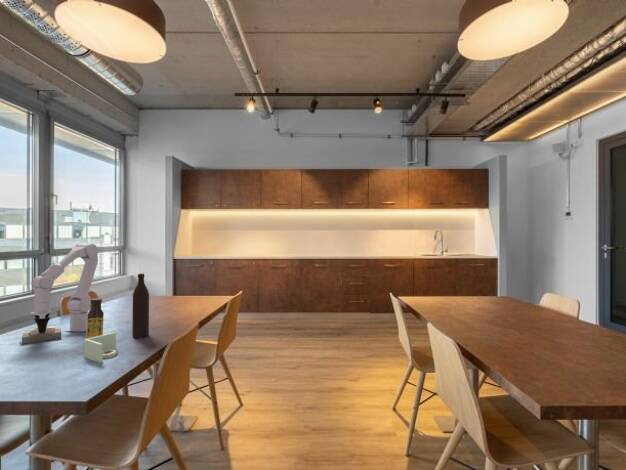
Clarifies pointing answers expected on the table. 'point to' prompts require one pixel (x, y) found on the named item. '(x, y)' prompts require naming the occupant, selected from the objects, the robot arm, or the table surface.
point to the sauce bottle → (95, 319)
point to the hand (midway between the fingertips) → (42, 331)
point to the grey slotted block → (41, 337)
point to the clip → (35, 332)
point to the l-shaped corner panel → (100, 347)
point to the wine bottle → (140, 309)
